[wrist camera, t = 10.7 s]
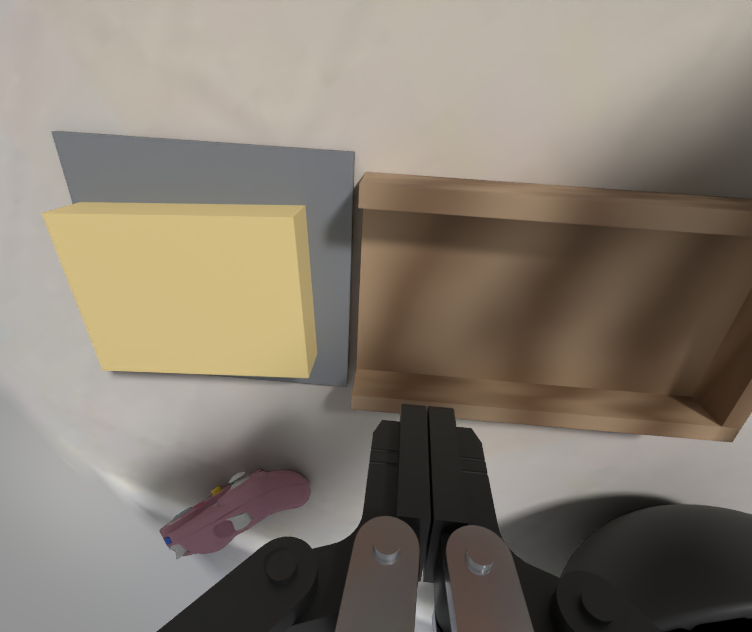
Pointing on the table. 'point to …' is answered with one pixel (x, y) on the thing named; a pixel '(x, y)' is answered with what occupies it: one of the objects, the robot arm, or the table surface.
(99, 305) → the cover plate
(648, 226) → the walnut box
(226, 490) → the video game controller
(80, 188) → the charcoal mat
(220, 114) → the table surface
